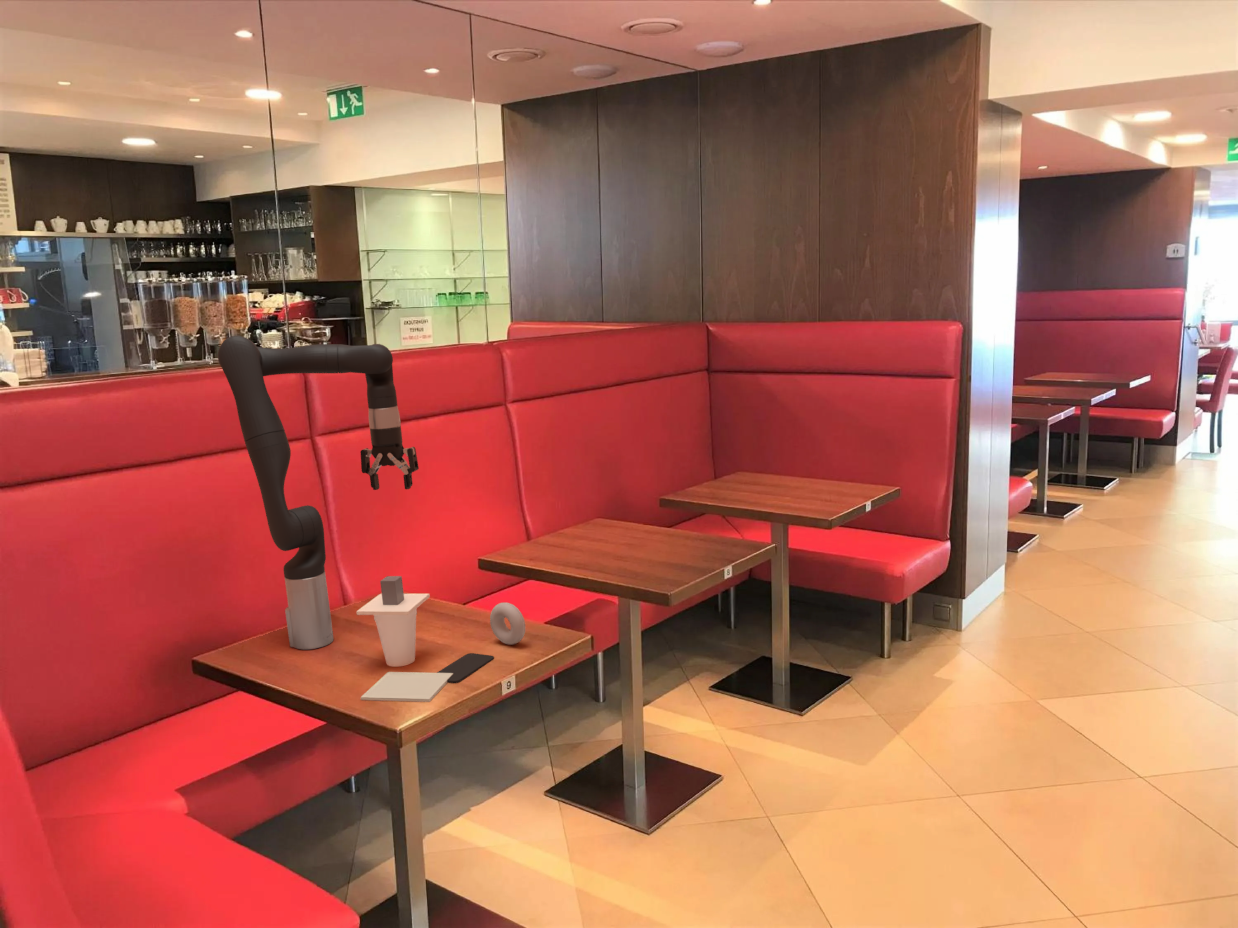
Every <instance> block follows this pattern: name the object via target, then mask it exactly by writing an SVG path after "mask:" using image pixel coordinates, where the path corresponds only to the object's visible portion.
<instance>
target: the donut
mask: <svg viewBox="0 0 1238 928" xmlns="http://www.w3.org/2000/svg"><path fill="white" fill-rule="evenodd" d="M490 612H491V613H490V617H489V619H490V620H489V623H490V628H491V630H492V633H493V634H494V636H495V637H496V638H497V639H498V640H499V641H500V642H501V643H503V644H505V645H509V646H511V645H512V646H513V645H516V644H517V643H520V642H521V641H522V640H523V638H524V636H525V634H526V621H525V618H524V616H523V613H522V612H521V611H520V610H519V608H518V607H517V606H515V605H514V604H512V603H510V602H499V603H498V604H496V605H495V606H494V607H493V608H492V610H491V611H490ZM505 618H506V619H507V621H508V622H509V624H510V628H509V627H508V626H507V624H506V621H505Z"/></svg>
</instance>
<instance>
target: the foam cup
mask: <svg viewBox="0 0 1238 928" xmlns="http://www.w3.org/2000/svg"><path fill="white" fill-rule="evenodd" d="M417 609H418V608H416V609H415V610H414V611H413V612H412V613H410V614H409V615H373V621H375V624H376V628H377V629H376V630H377V632H378V637H379V640H380V644H381V647H382V651H383V652H382V653H383V656H384V659H385V663H386V665H387V666H388V667H393V668H394V667H403V666H407V665H410V664H413V663H414V662H415V661H416V659H415V658H416V641H417V639H416V636H417V635H416V634H417V633H416V632H417V615H418V612H417V611H418V610H417Z"/></svg>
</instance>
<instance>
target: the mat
mask: <svg viewBox="0 0 1238 928" xmlns="http://www.w3.org/2000/svg"><path fill="white" fill-rule="evenodd" d="M452 675H453V673H437V672H418V671H417V672H416V671H415V672H413V671H412V672H411V671H403V672H402V671H388V672H386V673H385V674H384V675H383V676H382V677H381V678H380V679H379V680H378V681H376V682H375V684H373V685H372V686H371V687H370V688H369V689H368V690H367V691H365V692H364V693H363V694H362V695H361V696H360V701H382V702H383V701H385V702H389V701H390V702H420V703H421V702H423V703H425V702H426V703H428V702H429V703H430V702H431V701H432V700H433V699H434V698H435V697H436V696H437V695H438V693H440V691H441V690H442V689H443V688H444V687H445V686H446V685H447V684H448V683H447V680H448V679H449V678H450V677H451V676H452Z"/></svg>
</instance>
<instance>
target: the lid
mask: <svg viewBox="0 0 1238 928" xmlns="http://www.w3.org/2000/svg"><path fill="white" fill-rule="evenodd" d="M379 582H380V591H381V593H380V594H377V596H375V597H373V598H372V599H371V600H370V601H368V602H367V603H365V604H364V605H363V606H362V607H360V608H359V609H358V610H356V615H357V616H374V615H409V614H410V613H412V612H413V611H414V610H415V609H418V608H419V607H420V606H421V605H422V604H424V602H425V601H427V600H428V599H430V598H431V596H430V594H431V593H405V592H404V585H403V577H402V575H390V576H389V575H387V576H386V577H384V578H383V579H381V580H380V581H379Z"/></svg>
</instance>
